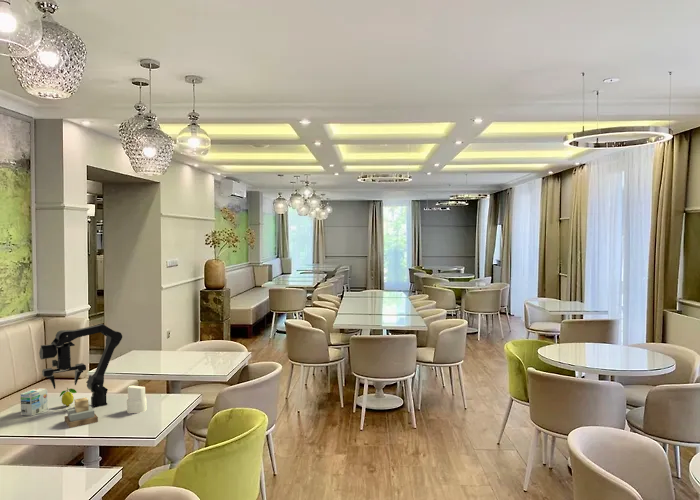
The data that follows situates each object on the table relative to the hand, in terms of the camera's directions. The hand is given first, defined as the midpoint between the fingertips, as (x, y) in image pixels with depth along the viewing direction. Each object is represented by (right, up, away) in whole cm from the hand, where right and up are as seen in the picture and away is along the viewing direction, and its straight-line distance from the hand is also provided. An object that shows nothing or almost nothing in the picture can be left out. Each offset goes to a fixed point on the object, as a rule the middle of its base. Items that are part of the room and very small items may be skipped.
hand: (65, 386), depth 259 cm
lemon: (-4, -13, +11) cm, 17 cm away
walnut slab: (+15, -14, -13) cm, 24 cm away
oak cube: (+15, -8, -13) cm, 22 cm away
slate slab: (+15, -11, -14) cm, 23 cm away
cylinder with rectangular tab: (+36, -12, +1) cm, 38 cm away
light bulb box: (-17, -14, +2) cm, 22 cm away
